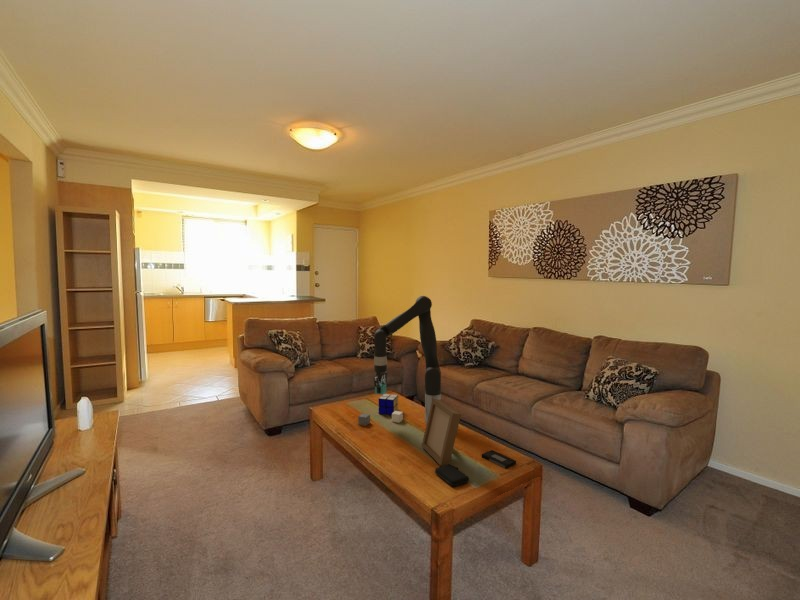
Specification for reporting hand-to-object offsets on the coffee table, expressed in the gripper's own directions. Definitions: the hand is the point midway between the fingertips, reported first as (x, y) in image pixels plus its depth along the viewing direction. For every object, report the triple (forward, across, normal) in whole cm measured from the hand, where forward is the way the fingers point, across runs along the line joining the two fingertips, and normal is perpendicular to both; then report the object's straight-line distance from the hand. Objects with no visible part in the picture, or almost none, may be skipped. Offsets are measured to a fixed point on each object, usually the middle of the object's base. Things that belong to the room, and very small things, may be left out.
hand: (380, 391), depth 233 cm
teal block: (+1, 0, 0) cm, 1 cm away
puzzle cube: (+19, +17, +3) cm, 26 cm away
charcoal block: (+18, -6, +8) cm, 21 cm away
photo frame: (+19, -25, -47) cm, 56 cm away
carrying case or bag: (+19, -44, -56) cm, 74 cm away
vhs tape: (+20, -20, -72) cm, 77 cm away
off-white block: (+19, +6, -8) cm, 21 cm away
